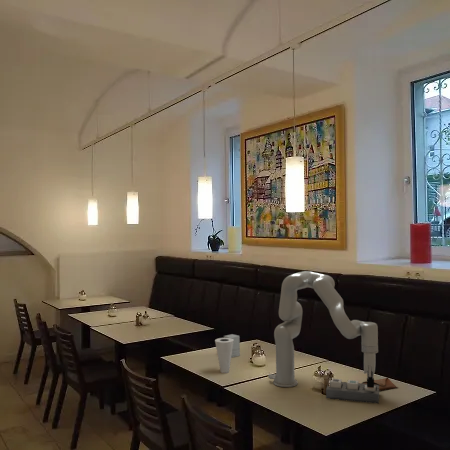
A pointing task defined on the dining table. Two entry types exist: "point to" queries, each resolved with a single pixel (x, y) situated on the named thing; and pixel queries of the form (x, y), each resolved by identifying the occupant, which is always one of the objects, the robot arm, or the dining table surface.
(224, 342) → the cup
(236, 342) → the supplement box
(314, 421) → the dining table surface
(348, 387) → the key mid
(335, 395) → the block
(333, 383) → the key left
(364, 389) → the key right
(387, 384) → the sunglasses case
